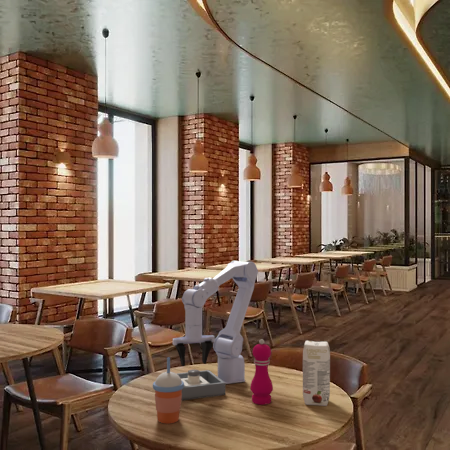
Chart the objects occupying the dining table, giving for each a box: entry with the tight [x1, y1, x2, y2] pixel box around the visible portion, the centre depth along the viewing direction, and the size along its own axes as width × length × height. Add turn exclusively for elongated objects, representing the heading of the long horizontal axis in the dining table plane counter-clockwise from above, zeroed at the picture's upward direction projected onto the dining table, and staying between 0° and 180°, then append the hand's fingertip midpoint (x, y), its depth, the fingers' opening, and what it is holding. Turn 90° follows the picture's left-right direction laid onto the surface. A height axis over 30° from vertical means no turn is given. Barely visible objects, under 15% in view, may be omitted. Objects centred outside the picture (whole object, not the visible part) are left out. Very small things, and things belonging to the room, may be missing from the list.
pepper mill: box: [250, 338, 274, 406], centre depth 162 cm, size 7×7×20 cm
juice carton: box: [302, 340, 331, 407], centre depth 162 cm, size 8×9×19 cm
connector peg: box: [187, 369, 201, 384], centre depth 173 cm, size 4×4×6 cm
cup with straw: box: [152, 356, 184, 425], centre depth 147 cm, size 9×9×18 cm
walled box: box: [176, 369, 226, 402], centre depth 173 cm, size 17×16×4 cm
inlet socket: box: [181, 376, 209, 387], centre depth 173 cm, size 8×8×3 cm
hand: (193, 364), depth 173 cm, fingers open, 7 cm apart
